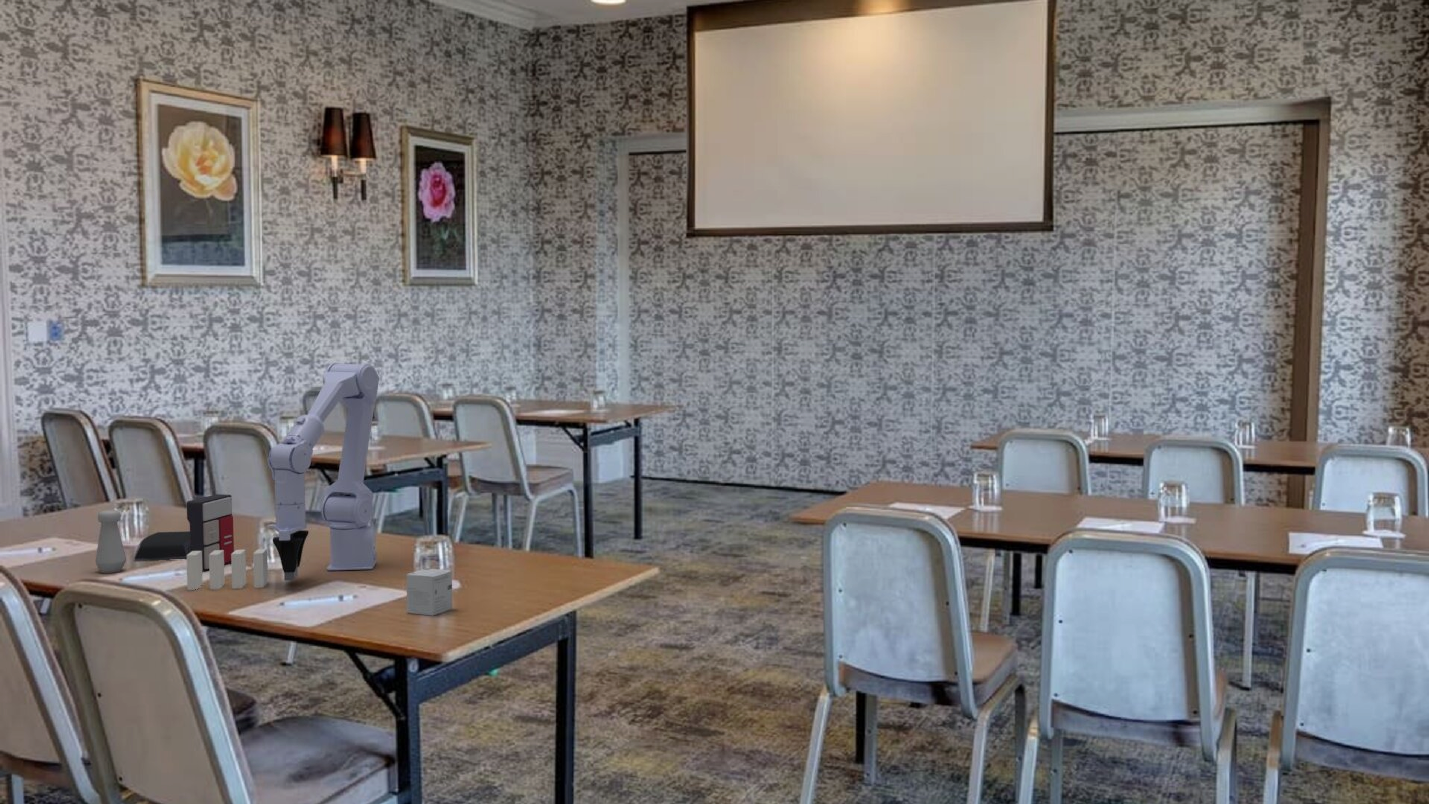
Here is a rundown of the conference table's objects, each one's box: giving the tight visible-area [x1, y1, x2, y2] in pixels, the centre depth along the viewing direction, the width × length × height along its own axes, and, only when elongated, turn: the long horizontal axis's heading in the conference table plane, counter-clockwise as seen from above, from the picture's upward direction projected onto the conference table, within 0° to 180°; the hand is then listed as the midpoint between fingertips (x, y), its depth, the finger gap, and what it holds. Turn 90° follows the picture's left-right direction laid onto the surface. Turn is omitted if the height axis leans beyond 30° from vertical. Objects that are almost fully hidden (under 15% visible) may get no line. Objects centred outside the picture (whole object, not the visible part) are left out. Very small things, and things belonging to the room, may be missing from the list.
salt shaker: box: [95, 509, 127, 574], centre depth 257 cm, size 6×6×13 cm
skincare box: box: [406, 567, 453, 616], centre depth 224 cm, size 6×6×7 cm
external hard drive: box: [132, 530, 191, 563], centre depth 278 cm, size 13×19×4 cm
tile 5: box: [186, 551, 204, 591], centre depth 242 cm, size 2×4×7 cm, turn 9°
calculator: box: [186, 493, 235, 572], centre depth 262 cm, size 11×4×15 cm, turn 168°
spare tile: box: [283, 564, 299, 581], centre depth 245 cm, size 2×4×7 cm, turn 9°
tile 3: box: [230, 549, 247, 590], centre depth 243 cm, size 2×4×7 cm, turn 10°
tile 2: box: [252, 548, 269, 589], centre depth 244 cm, size 2×4×7 cm, turn 9°
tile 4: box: [208, 550, 226, 590], centre depth 243 cm, size 2×4×7 cm, turn 10°
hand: (291, 569), depth 245 cm, fingers closed on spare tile, 4 cm apart
